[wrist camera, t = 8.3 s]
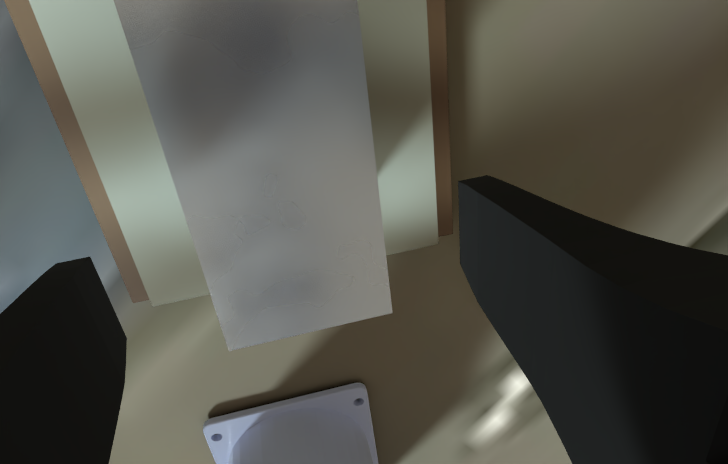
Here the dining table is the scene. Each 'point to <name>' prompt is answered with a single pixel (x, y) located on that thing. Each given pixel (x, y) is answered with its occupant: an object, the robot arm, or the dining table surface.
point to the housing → (268, 156)
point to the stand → (147, 160)
